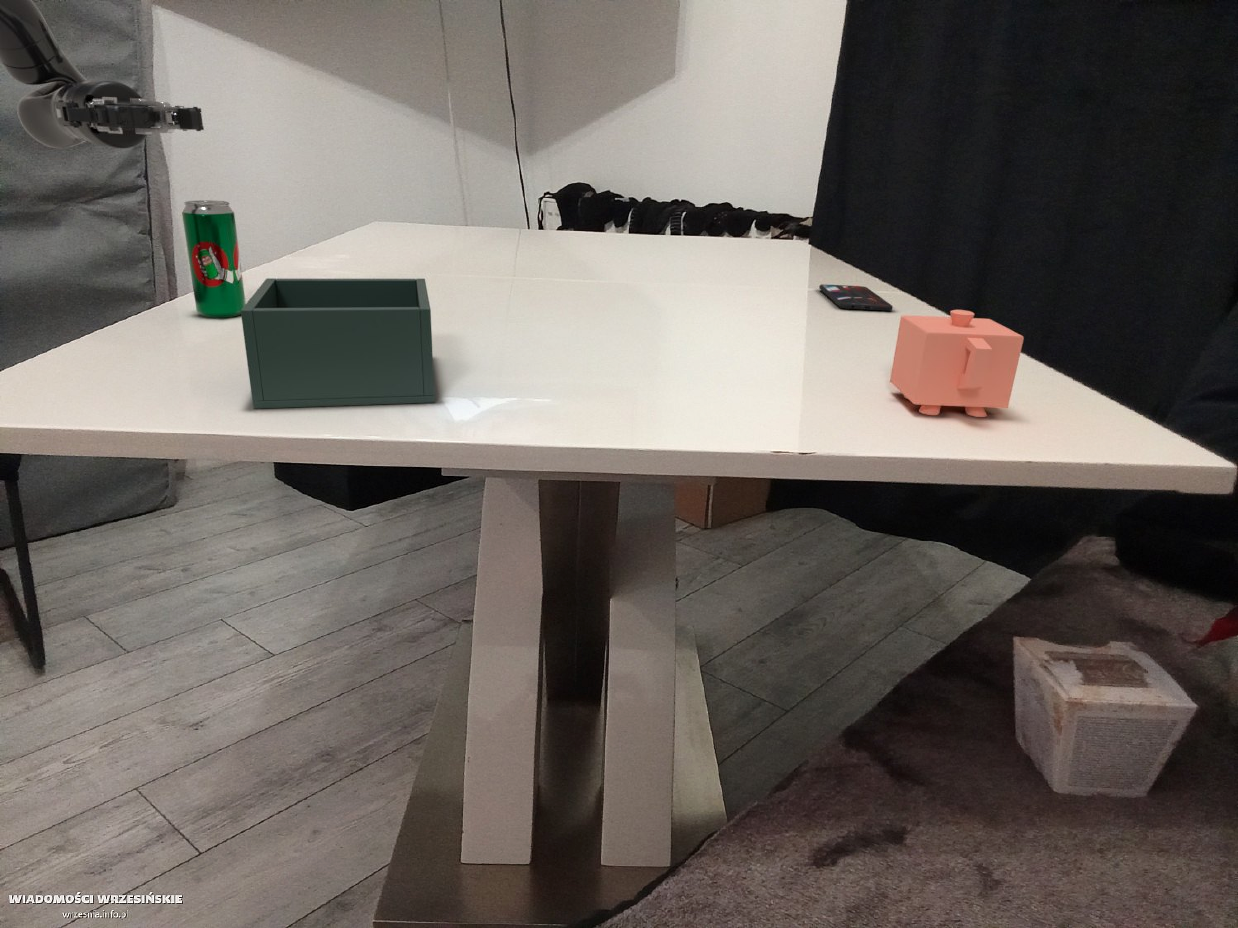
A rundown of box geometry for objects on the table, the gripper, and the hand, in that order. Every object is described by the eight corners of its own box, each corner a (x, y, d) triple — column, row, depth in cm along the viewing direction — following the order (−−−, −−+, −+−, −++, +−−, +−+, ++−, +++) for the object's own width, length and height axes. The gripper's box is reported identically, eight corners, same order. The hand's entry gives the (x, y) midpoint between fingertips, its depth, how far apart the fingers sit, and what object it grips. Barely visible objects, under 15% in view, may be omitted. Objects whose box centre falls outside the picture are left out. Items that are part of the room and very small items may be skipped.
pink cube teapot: (960, 385, 78) (977, 298, 75) (1016, 428, 67) (1039, 327, 64) (877, 382, 78) (892, 294, 75) (920, 424, 67) (939, 323, 64)
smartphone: (841, 304, 110) (818, 284, 124) (840, 309, 110) (817, 288, 124) (895, 306, 110) (866, 286, 124) (894, 311, 110) (865, 290, 124)
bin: (253, 409, 63) (240, 310, 61) (276, 362, 76) (266, 278, 73) (434, 402, 67) (430, 308, 64) (428, 359, 79) (424, 278, 76)
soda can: (225, 307, 96) (210, 199, 91) (256, 313, 94) (243, 202, 89) (186, 314, 91) (169, 201, 87) (219, 321, 89) (203, 205, 85)
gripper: (30, 76, 96) (75, 76, 86) (161, 84, 105) (215, 85, 95) (44, 146, 98) (89, 153, 88) (170, 147, 108) (224, 154, 98)
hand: (154, 118), depth 92 cm, fingers open, 8 cm apart
